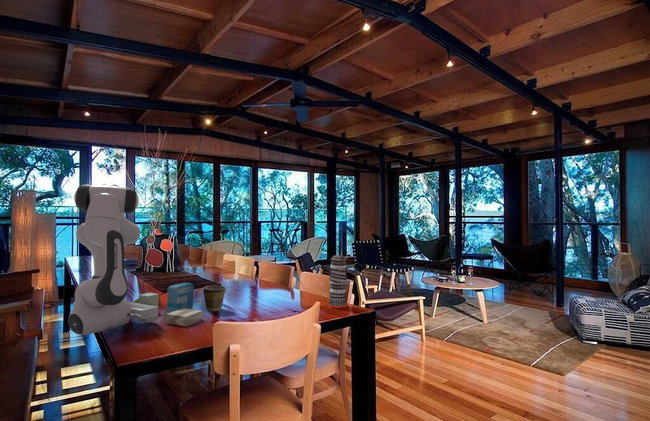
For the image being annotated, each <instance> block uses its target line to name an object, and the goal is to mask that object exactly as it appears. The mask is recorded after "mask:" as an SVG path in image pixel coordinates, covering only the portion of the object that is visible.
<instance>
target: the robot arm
mask: <svg viewBox="0 0 650 421" xmlns="http://www.w3.org/2000/svg"><path fill="white" fill-rule="evenodd" d="M73 197H74V198H73V200H74V204H75V207H76V208H78V210H80V211H84V212H86V215H85V218H84V219H85V221H84V222H82V223H81V224H80V225H78V227H77V229H76V233H75V236H76V240H78V242H79V243H80V244H82V245H83V246H84V247H86V249H87V250H88V251H89V252H90V254H91V256H92V259H93V275H92V276H90V277H89V279H88V280H84V281H82V282H80V283H79V284H78V285H77V286H76V288H75V290H74V302H72V305H73V308H72V311H71V312H70V313H69V315H68V319H67V324H68V326H69V328H70V330H71V332H73V333H74V334H76V335H80V336H83V335H91V334H95V333H99V332H103V331H105V330H107V329H113V328H117V327H120V326H123V325H126V324H128V323H129V322H130V320H131V319H134V320H138V319H139V320H143V319H148V318H153V317H156V316H158V317H159V307H158V305H157V304H152V305H146V304H140V303H134V301H129V300H128V301H127V300H126V297H127V294H128V293H129V292H128V291H129V284H128V280H127V275H126V260H125V258H126V257H125V256H126V255H125V246H126V245H134V244H136V243H137V242H138V241H139V240H140V237H141V230H140V227H139V226H138V224H136V223H134V222H132V221H130V220H129V219H127V217H126V216H125V214H133V213H134V212H135V211H136V209H137V208H138V205H139V202H140V201H139V195H138V193H137V191H136V190H135V189H133V188H130V187H122V186H119V185H117V184H115V183H112V182H108V183H103V184H101V185H100V184H98V185H95V184H94V185H92V184H81V185H80V186H78V187H77V189H76V191H75V192H74V196H73Z"/></svg>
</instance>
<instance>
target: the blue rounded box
mask: <svg viewBox="0 0 650 421" xmlns="http://www.w3.org/2000/svg"><path fill="white" fill-rule="evenodd" d="M194 289H195V288H194V284H193V283H191V282H182V283H177V284H173V285H169V286H168V288H167V294H166V295H167V297H166V300H167V301H166V312H167V313H170V312H173V311H177V310H180V309H183V308H184V309H192V310H193V307H194ZM167 313H166V314H167Z"/></svg>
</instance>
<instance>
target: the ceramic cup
mask: <svg viewBox="0 0 650 421" xmlns="http://www.w3.org/2000/svg"><path fill="white" fill-rule="evenodd" d="M202 291H203V292H202V293H203V297H204V306H205V310H206V309H207V310H206V311H209V312H218V311H220V310H222V308H223V304H224V303H223V302H224V297H225V293H226V286H224V285H207V286H204V287H203V288H202Z"/></svg>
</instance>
